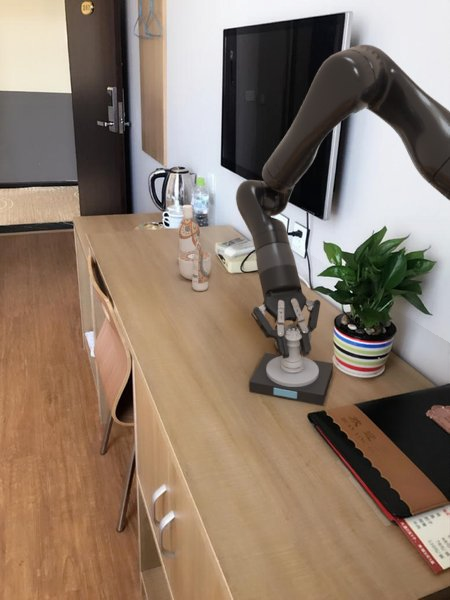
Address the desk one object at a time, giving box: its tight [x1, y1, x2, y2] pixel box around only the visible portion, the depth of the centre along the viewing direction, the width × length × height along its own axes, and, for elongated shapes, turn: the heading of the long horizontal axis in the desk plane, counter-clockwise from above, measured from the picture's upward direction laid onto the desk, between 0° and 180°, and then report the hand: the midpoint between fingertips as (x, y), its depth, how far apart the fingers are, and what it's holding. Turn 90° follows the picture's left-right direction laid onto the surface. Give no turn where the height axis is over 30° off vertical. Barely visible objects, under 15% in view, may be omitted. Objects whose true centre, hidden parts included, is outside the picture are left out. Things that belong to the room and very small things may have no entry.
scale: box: [248, 352, 334, 406], centre depth 97 cm, size 14×11×3 cm
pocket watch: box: [274, 322, 312, 352], centre depth 107 cm, size 8×8×10 cm
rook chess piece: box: [281, 328, 304, 374], centre depth 95 cm, size 4×4×8 cm
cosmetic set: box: [177, 204, 212, 292], centre depth 143 cm, size 25×9×19 cm, turn 12°
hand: (296, 355), depth 93 cm, fingers closed on rook chess piece, 3 cm apart
